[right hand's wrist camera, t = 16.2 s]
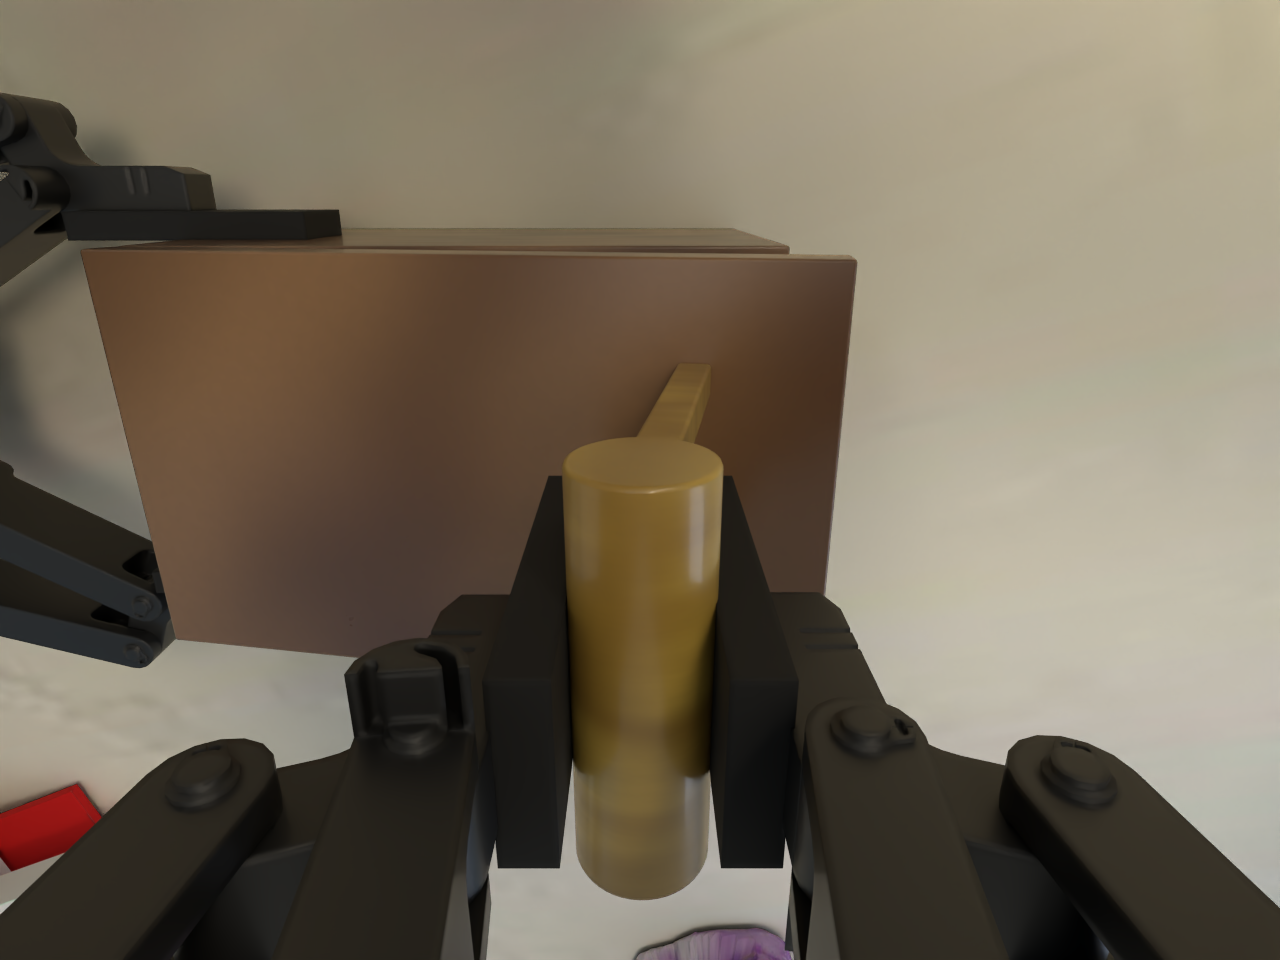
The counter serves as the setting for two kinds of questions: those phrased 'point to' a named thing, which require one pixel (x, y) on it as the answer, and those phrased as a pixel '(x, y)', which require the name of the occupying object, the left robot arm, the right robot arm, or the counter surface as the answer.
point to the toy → (40, 837)
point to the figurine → (722, 946)
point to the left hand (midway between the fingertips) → (349, 407)
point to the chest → (521, 240)
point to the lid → (489, 468)
